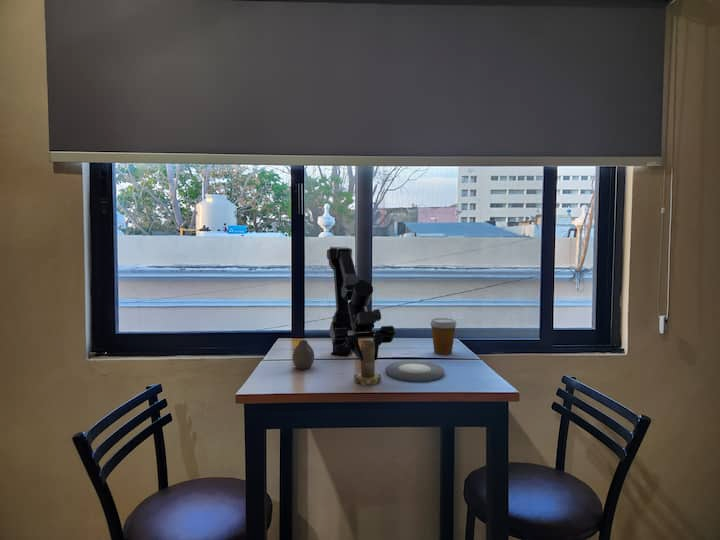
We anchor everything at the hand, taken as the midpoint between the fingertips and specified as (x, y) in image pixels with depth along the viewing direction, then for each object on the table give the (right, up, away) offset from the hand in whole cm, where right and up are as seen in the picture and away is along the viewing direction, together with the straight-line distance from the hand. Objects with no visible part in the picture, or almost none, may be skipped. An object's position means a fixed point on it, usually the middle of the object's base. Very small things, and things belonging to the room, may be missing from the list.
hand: (369, 360), depth 132 cm
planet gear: (0, -6, +2) cm, 7 cm away
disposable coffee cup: (+28, -4, +35) cm, 45 cm away
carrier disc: (+14, -6, +10) cm, 19 cm away
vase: (-21, -6, +15) cm, 27 cm away
